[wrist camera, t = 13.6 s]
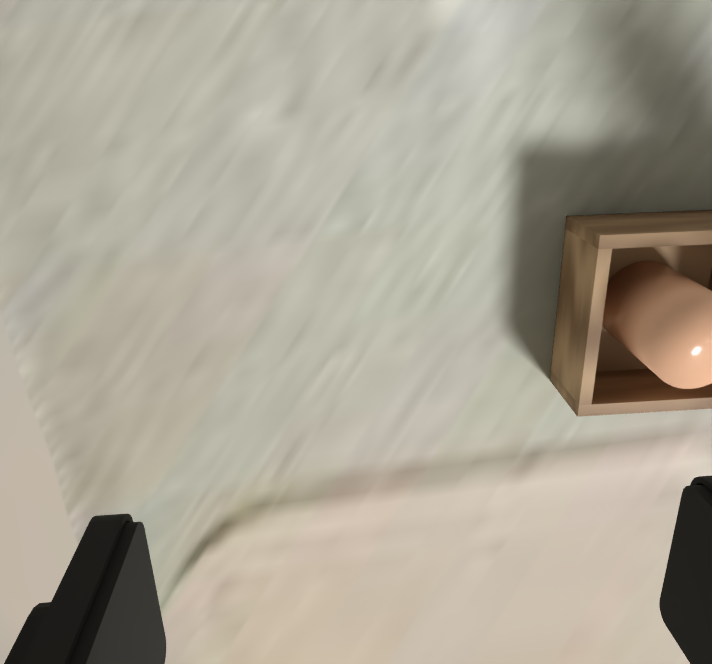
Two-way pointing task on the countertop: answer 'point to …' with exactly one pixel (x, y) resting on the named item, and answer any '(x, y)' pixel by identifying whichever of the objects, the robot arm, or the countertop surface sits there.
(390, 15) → the countertop surface
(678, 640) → the robot arm
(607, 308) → the peach colored egg
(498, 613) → the countertop surface
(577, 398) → the crate
